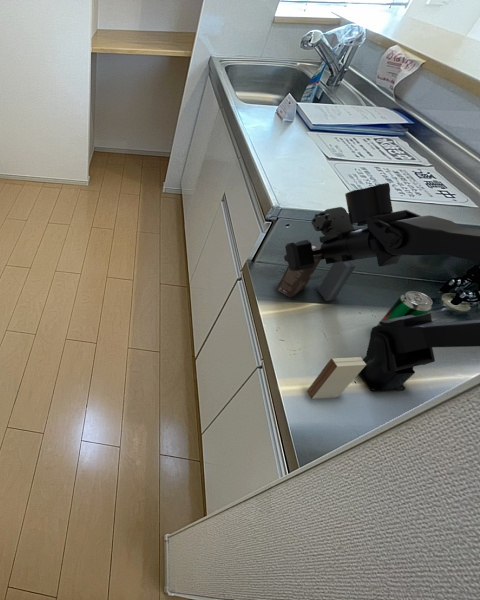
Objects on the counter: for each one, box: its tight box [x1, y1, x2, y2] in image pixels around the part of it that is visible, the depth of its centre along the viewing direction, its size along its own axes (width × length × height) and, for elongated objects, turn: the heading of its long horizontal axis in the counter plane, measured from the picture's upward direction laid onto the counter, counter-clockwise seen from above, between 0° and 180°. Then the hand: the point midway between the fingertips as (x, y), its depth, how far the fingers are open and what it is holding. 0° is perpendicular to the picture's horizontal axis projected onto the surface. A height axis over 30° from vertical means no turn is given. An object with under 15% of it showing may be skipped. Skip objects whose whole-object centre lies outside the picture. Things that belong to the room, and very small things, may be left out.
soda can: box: [376, 290, 434, 326], centre depth 72 cm, size 5×5×12 cm
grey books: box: [317, 260, 356, 302], centre depth 83 cm, size 4×2×11 cm, turn 1°
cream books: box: [306, 356, 366, 400], centre depth 64 cm, size 2×5×11 cm, turn 91°
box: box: [276, 244, 322, 298], centre depth 85 cm, size 6×4×12 cm
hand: (301, 254), depth 84 cm, fingers open, 8 cm apart
